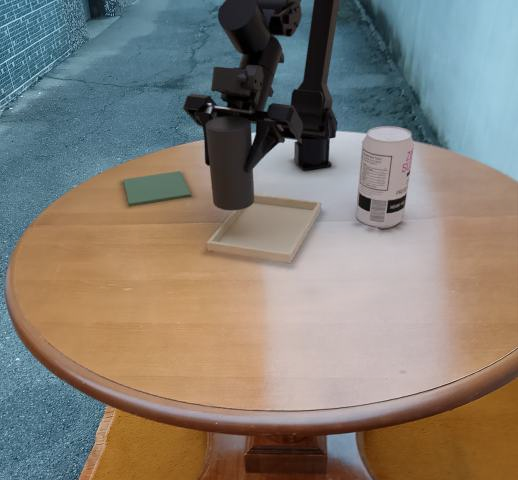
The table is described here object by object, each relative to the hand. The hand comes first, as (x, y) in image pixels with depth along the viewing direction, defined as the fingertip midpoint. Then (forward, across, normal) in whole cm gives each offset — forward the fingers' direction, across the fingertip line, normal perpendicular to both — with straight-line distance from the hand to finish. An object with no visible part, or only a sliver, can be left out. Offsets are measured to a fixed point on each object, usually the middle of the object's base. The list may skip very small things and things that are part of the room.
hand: (226, 168), depth 84 cm
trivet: (+1, -24, +17) cm, 29 cm away
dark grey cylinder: (+3, 0, +5) cm, 6 cm away
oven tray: (+6, +4, +12) cm, 14 cm away
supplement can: (-3, +21, +21) cm, 29 cm away
